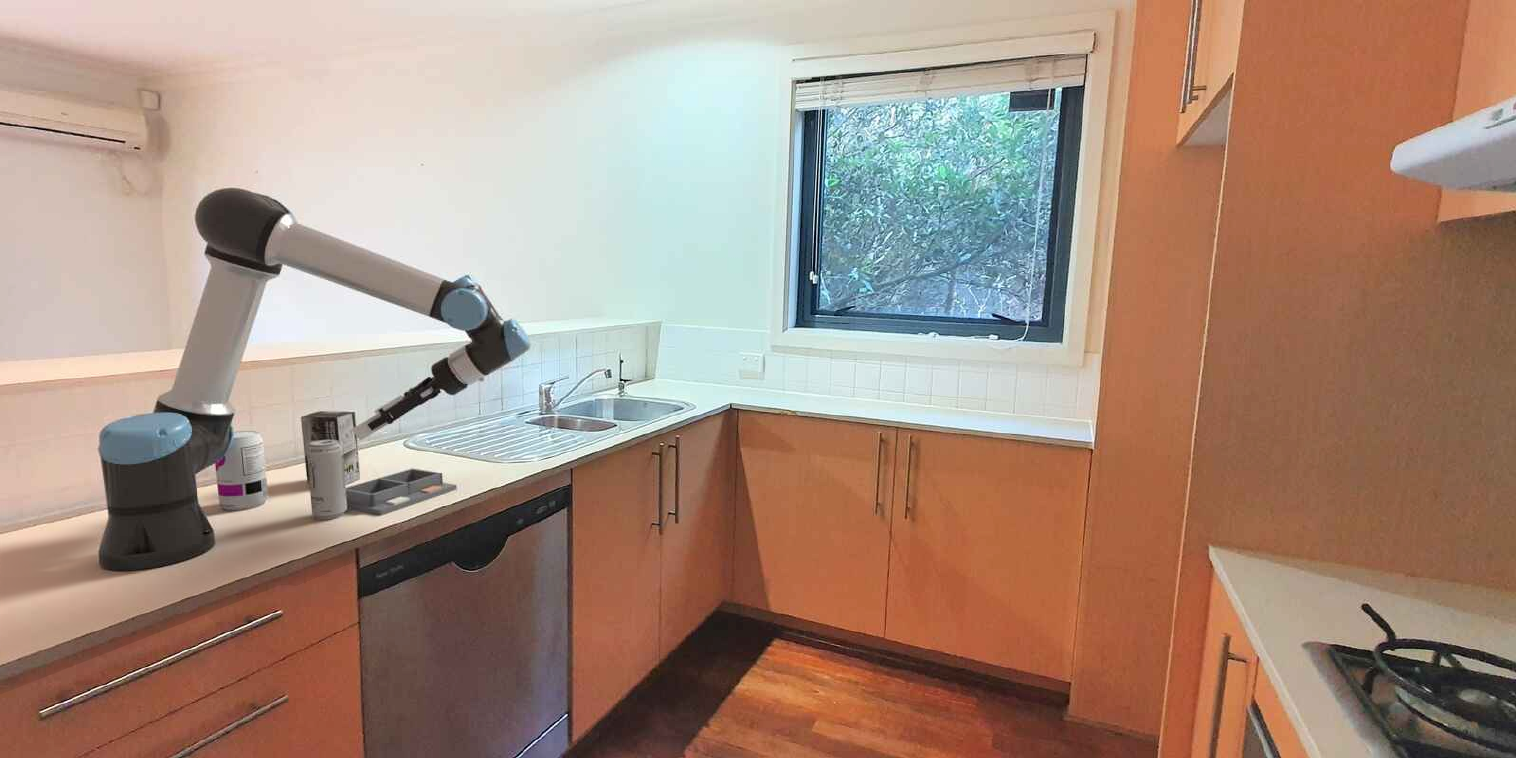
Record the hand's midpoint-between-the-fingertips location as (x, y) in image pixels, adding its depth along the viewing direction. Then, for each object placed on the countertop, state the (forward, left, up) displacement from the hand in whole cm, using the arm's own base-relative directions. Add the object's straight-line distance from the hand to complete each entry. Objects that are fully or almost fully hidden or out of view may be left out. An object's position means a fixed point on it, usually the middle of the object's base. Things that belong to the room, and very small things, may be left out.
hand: (367, 424), depth 144 cm
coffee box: (+8, +23, -17) cm, 30 cm away
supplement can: (-11, +24, -17) cm, 32 cm away
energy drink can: (-8, +2, -17) cm, 19 cm away
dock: (+6, 0, -17) cm, 18 cm away
